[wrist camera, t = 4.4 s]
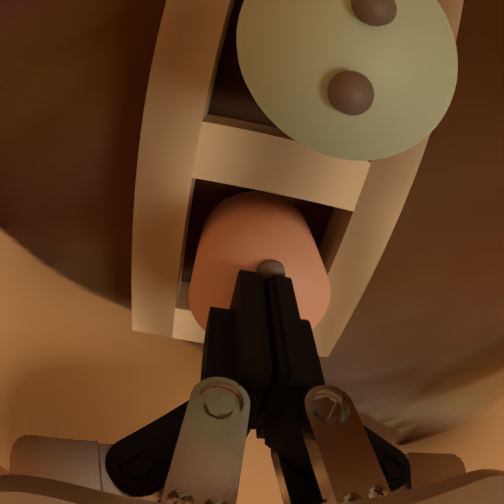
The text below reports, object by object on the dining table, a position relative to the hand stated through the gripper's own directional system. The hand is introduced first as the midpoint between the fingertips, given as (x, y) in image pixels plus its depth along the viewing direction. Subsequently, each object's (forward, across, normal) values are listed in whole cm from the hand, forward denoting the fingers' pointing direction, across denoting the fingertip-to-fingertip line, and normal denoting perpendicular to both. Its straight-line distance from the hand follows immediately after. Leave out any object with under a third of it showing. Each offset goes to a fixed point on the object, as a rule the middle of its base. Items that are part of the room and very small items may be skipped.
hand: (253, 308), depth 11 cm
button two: (+2, 0, -8) cm, 8 cm away
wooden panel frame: (+4, 0, -8) cm, 9 cm away
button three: (+4, 0, 0) cm, 4 cm away
